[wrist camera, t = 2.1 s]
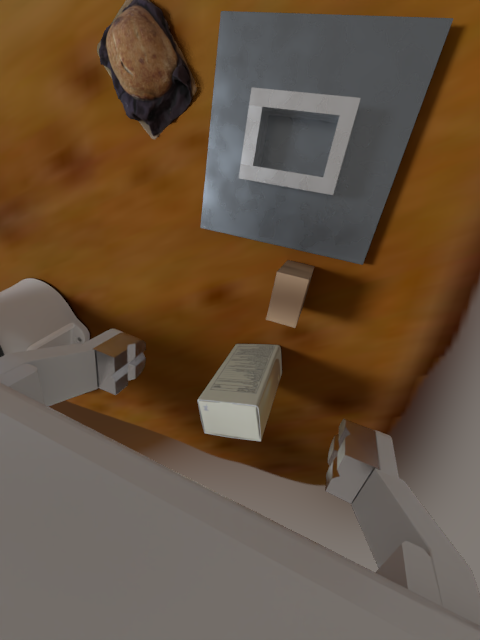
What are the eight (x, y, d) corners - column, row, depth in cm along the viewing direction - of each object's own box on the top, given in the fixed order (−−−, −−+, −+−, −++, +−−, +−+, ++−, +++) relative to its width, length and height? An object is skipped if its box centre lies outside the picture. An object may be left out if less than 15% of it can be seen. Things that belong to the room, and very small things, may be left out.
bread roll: (97, 55, 30) (68, 37, 26) (147, -21, 26) (119, -53, 22) (153, 148, 31) (131, 142, 28) (207, 91, 27) (189, 76, 24)
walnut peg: (302, 307, 32) (295, 328, 27) (278, 300, 33) (266, 319, 28) (314, 266, 30) (309, 279, 25) (287, 259, 31) (277, 271, 25)
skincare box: (239, 370, 38) (200, 434, 28) (235, 342, 37) (193, 398, 26) (285, 373, 36) (261, 444, 26) (283, 344, 35) (257, 407, 24)
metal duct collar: (362, 262, 28) (364, 270, 25) (204, 226, 32) (189, 229, 29) (448, 26, 20) (467, -5, 17) (225, 18, 24) (208, -9, 21)
